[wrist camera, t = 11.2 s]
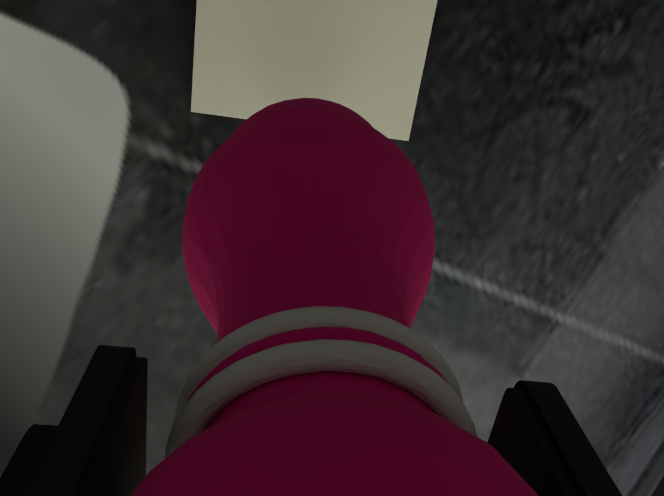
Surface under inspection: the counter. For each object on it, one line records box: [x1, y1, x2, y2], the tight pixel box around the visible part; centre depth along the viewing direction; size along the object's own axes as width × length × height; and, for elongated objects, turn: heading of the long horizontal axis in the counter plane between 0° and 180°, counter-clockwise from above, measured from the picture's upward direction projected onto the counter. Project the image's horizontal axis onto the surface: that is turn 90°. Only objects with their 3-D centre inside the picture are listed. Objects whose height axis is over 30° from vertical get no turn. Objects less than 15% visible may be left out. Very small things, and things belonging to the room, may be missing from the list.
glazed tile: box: [191, 0, 437, 141], centre depth 32 cm, size 3×12×12 cm
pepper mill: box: [131, 98, 538, 496], centre depth 13 cm, size 7×7×20 cm
